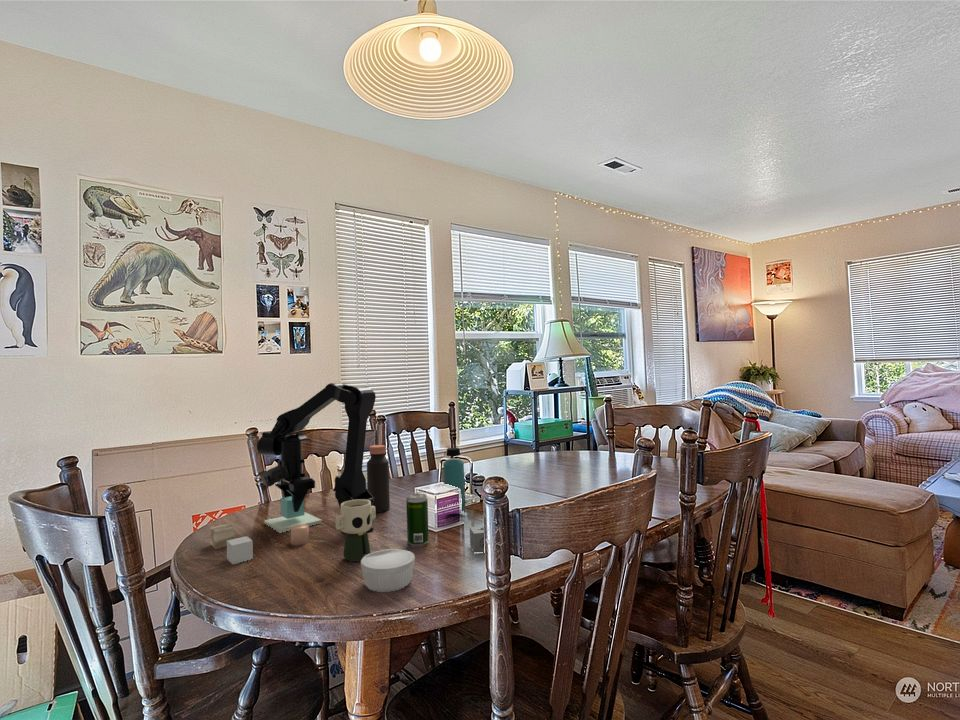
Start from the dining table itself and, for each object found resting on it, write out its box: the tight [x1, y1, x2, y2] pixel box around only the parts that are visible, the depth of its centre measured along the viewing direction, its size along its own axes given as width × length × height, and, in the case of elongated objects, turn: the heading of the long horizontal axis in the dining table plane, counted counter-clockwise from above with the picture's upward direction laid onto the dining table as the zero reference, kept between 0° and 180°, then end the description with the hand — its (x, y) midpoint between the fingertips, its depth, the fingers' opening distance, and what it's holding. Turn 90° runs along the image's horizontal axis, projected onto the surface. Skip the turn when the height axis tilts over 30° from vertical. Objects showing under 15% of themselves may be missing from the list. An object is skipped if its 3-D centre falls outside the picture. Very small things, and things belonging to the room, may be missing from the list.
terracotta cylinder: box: [290, 524, 310, 546], centre depth 131 cm, size 4×4×4 cm
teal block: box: [280, 496, 306, 519], centre depth 147 cm, size 5×5×5 cm
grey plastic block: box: [226, 535, 254, 565], centre depth 121 cm, size 4×4×4 cm
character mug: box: [334, 499, 377, 562], centre depth 119 cm, size 11×7×13 cm, turn 138°
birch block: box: [210, 523, 235, 550], centre depth 131 cm, size 4×4×4 cm
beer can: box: [405, 492, 429, 547], centre depth 128 cm, size 5×5×12 cm
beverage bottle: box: [442, 447, 467, 512], centre depth 152 cm, size 6×7×20 cm
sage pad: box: [263, 511, 323, 534], centre depth 147 cm, size 12×12×1 cm
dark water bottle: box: [366, 444, 391, 513], centre depth 160 cm, size 7×7×20 cm
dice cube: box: [469, 525, 485, 554], centre depth 123 cm, size 5×5×5 cm
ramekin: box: [360, 548, 416, 593], centre depth 105 cm, size 11×11×5 cm
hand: (292, 509), depth 147 cm, fingers closed on teal block, 5 cm apart
